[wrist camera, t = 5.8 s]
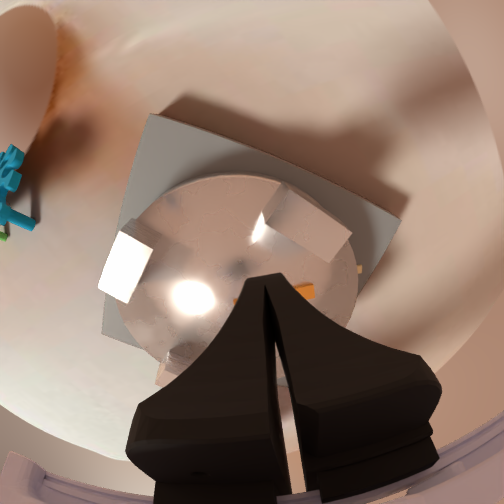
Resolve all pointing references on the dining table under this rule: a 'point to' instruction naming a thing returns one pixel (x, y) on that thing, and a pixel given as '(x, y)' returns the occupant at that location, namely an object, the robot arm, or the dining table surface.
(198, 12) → the dining table surface
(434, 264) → the dining table surface
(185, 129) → the base plate
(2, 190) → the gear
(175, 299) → the lugged metal disc
